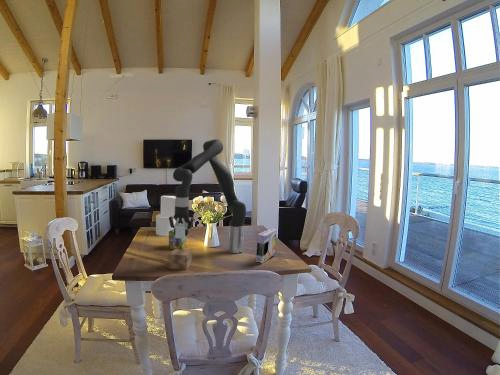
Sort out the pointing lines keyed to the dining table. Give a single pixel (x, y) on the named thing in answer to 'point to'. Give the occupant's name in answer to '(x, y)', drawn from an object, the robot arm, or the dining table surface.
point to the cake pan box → (266, 245)
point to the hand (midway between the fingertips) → (181, 235)
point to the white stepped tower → (165, 215)
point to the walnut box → (180, 259)
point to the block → (180, 231)
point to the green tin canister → (176, 241)
